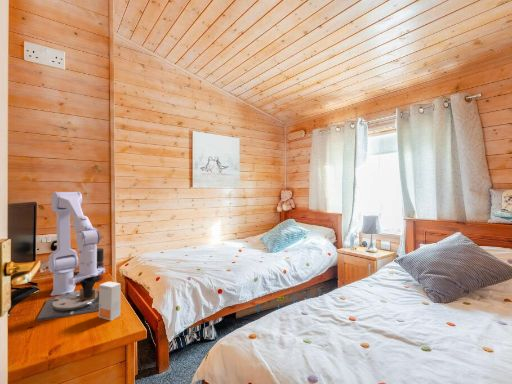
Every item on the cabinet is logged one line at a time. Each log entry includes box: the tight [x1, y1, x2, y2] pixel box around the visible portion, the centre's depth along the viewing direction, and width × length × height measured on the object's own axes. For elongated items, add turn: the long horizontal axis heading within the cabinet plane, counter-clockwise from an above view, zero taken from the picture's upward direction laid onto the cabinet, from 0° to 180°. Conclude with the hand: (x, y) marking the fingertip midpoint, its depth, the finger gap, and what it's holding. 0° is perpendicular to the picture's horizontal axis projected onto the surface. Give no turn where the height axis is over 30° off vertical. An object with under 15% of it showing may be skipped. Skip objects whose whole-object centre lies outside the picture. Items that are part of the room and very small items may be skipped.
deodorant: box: [95, 247, 104, 283], centre depth 133 cm, size 6×6×15 cm
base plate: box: [36, 290, 99, 322], centre depth 105 cm, size 19×20×1 cm
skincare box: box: [98, 280, 122, 322], centre depth 97 cm, size 6×4×12 cm
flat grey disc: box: [53, 287, 99, 311], centre depth 105 cm, size 16×14×6 cm
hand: (87, 296), depth 103 cm, fingers closed, pressing on flat grey disc
